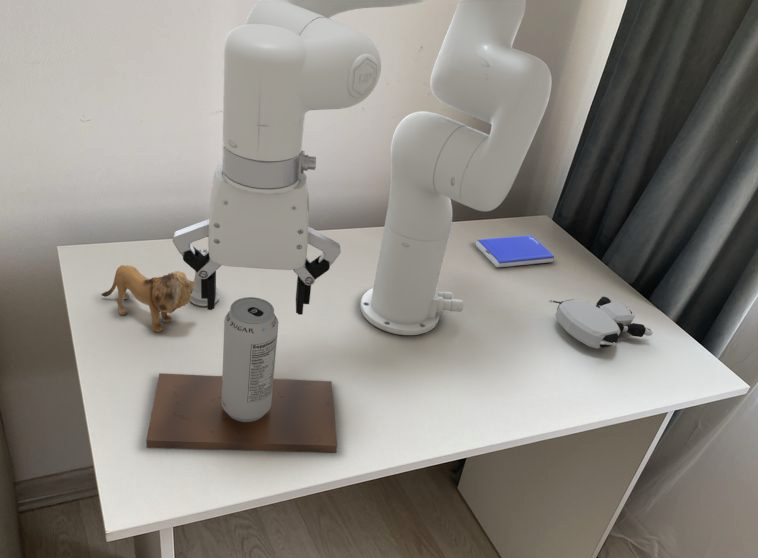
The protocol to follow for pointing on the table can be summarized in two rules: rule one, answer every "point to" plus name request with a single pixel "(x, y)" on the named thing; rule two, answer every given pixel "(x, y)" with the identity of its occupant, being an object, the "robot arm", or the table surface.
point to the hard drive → (514, 251)
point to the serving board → (219, 431)
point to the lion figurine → (153, 292)
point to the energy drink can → (249, 359)
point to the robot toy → (597, 321)
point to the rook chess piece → (197, 292)
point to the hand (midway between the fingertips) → (255, 305)
